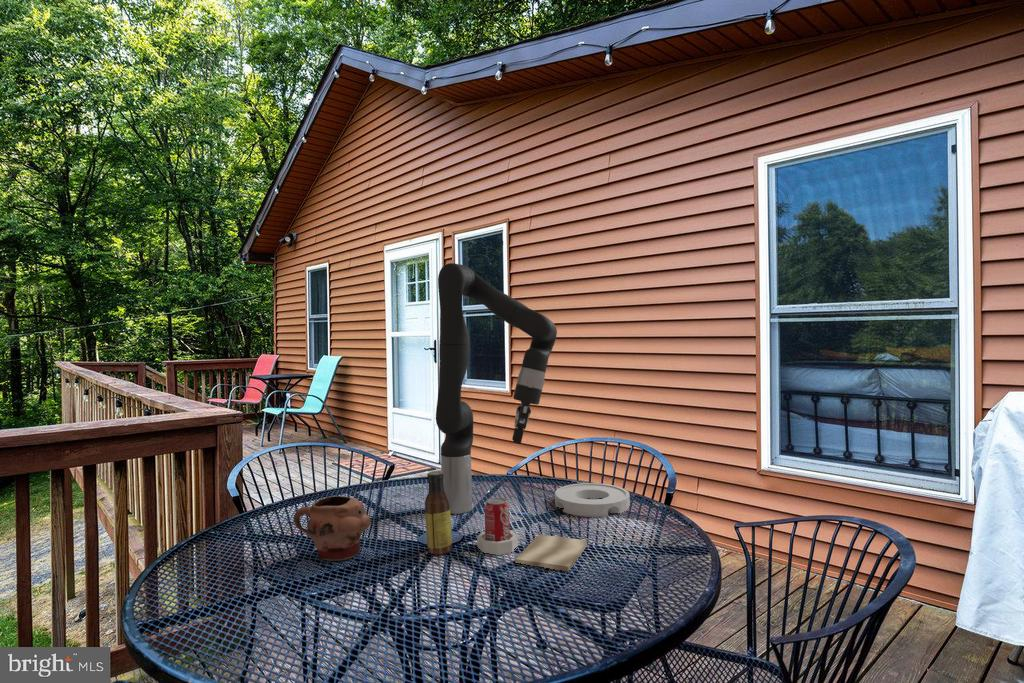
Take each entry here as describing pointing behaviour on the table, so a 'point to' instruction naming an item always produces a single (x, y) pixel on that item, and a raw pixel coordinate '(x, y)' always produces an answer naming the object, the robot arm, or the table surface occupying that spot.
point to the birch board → (552, 552)
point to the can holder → (497, 544)
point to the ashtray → (577, 503)
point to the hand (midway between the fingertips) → (516, 442)
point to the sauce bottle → (437, 516)
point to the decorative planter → (335, 526)
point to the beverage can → (497, 520)
